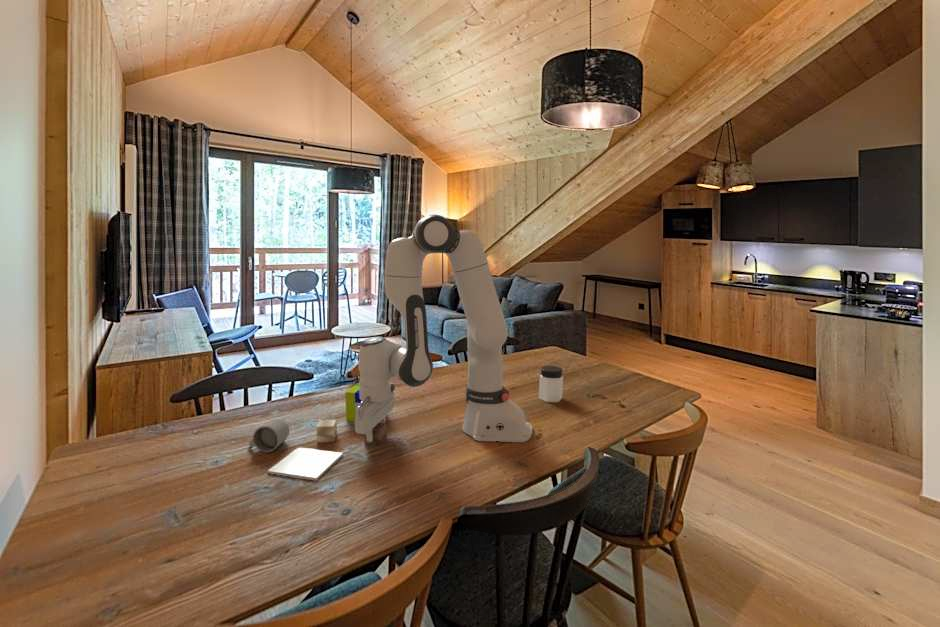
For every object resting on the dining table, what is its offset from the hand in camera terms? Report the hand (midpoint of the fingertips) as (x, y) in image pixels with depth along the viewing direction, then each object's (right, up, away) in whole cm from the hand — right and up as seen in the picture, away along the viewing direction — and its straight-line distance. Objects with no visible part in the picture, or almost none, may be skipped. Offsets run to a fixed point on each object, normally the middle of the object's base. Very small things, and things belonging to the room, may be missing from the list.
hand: (375, 435), depth 143 cm
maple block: (-15, -1, +2) cm, 15 cm away
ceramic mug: (-31, -2, -4) cm, 31 cm away
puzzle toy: (-7, +1, +19) cm, 20 cm away
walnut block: (0, -2, 0) cm, 2 cm away
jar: (+59, +4, +38) cm, 71 cm away
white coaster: (-16, -4, -14) cm, 22 cm away
